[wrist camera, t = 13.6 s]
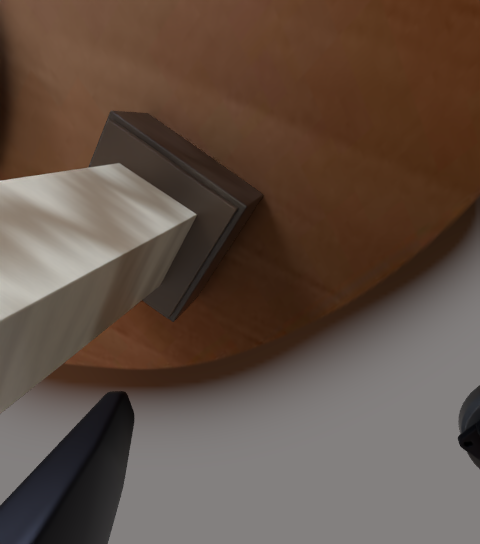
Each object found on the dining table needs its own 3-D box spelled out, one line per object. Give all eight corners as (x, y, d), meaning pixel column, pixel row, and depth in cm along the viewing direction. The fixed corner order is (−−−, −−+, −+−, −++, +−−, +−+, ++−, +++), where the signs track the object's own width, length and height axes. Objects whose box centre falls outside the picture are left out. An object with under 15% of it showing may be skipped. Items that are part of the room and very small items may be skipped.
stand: (264, 194, 21) (245, 208, 17) (197, 297, 25) (170, 326, 21) (147, 112, 21) (105, 109, 18) (97, 225, 25) (53, 242, 21)
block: (197, 214, 18) (-87, 369, 6) (160, 286, 20) (-109, 503, 9) (119, 162, 18) (-294, 222, 7) (89, 238, 20) (-268, 386, 9)
